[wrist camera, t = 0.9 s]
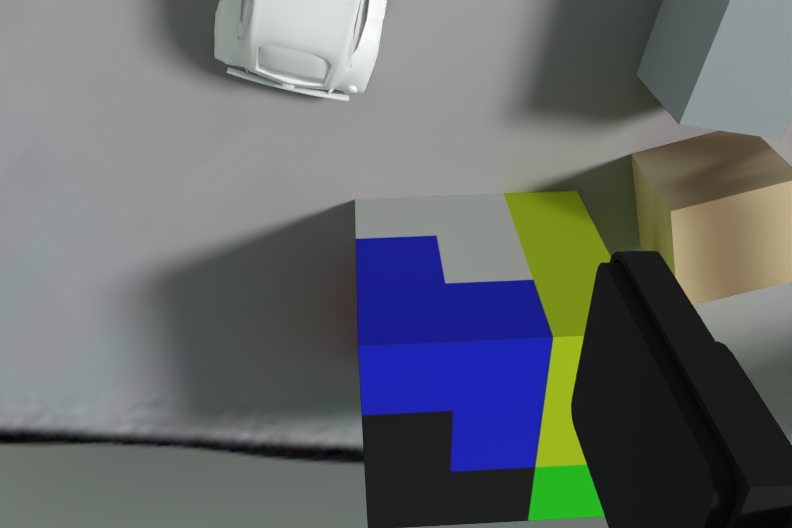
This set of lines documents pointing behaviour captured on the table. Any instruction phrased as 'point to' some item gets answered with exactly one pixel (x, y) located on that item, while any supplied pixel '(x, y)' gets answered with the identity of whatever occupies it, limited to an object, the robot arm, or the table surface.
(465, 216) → the puzzle toy
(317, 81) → the car
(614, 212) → the table surface
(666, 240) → the oak block
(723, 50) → the slate block
